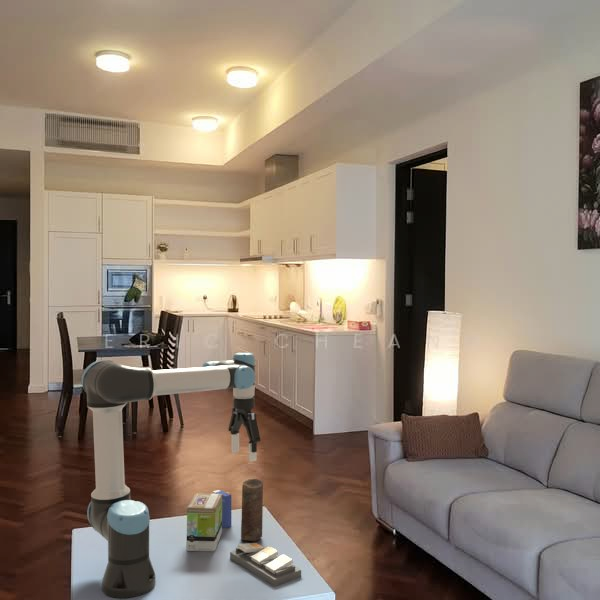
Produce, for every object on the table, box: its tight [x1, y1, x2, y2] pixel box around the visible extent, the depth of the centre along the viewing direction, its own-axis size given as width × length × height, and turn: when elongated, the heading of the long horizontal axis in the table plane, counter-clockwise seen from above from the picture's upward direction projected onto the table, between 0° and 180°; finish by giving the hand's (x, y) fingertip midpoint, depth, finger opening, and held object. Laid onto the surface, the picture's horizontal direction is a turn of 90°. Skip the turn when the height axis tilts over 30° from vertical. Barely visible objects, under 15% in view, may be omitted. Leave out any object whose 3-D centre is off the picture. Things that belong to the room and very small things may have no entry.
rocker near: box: [265, 553, 294, 574], centre depth 191 cm, size 7×5×1 cm, turn 129°
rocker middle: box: [251, 546, 279, 565], centre depth 197 cm, size 7×5×1 cm, turn 129°
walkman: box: [211, 489, 232, 529], centre depth 232 cm, size 8×3×12 cm, turn 46°
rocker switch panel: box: [229, 547, 302, 587], centre depth 197 cm, size 10×24×3 cm, turn 39°
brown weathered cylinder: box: [240, 478, 264, 542], centre depth 218 cm, size 8×7×20 cm
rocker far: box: [237, 542, 265, 553], centre depth 203 cm, size 7×5×1 cm, turn 129°
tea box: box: [185, 492, 223, 552], centre depth 216 cm, size 15×10×15 cm
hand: (243, 456), depth 223 cm, fingers open, 13 cm apart
